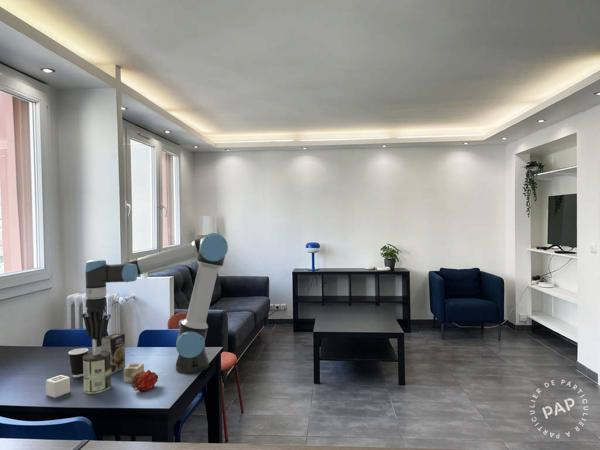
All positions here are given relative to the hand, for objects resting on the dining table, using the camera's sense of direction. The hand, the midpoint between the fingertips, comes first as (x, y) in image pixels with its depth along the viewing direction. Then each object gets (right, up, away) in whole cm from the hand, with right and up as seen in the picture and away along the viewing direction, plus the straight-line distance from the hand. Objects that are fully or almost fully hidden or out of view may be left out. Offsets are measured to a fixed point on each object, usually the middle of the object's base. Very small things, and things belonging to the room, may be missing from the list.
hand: (96, 354), depth 158 cm
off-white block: (-14, -15, -4) cm, 20 cm away
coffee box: (-3, -15, +20) cm, 25 cm away
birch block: (+12, -14, +9) cm, 20 cm away
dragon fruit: (+21, -14, -1) cm, 25 cm away
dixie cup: (-16, -15, +15) cm, 26 cm away
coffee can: (0, -15, 0) cm, 15 cm away
